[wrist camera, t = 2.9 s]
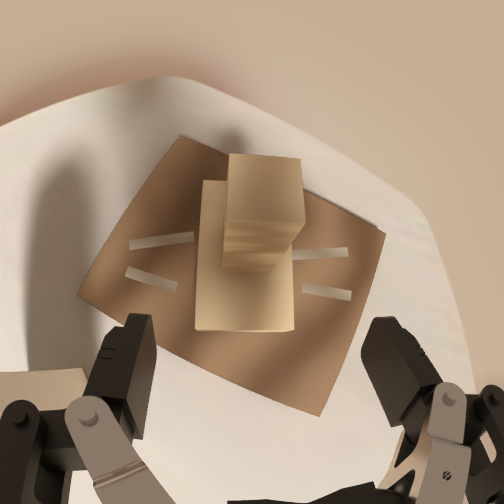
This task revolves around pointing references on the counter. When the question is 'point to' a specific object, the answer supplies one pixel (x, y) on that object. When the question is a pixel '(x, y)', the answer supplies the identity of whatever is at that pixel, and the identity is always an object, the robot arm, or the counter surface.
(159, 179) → the board
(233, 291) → the block
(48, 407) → the milk
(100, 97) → the counter surface
